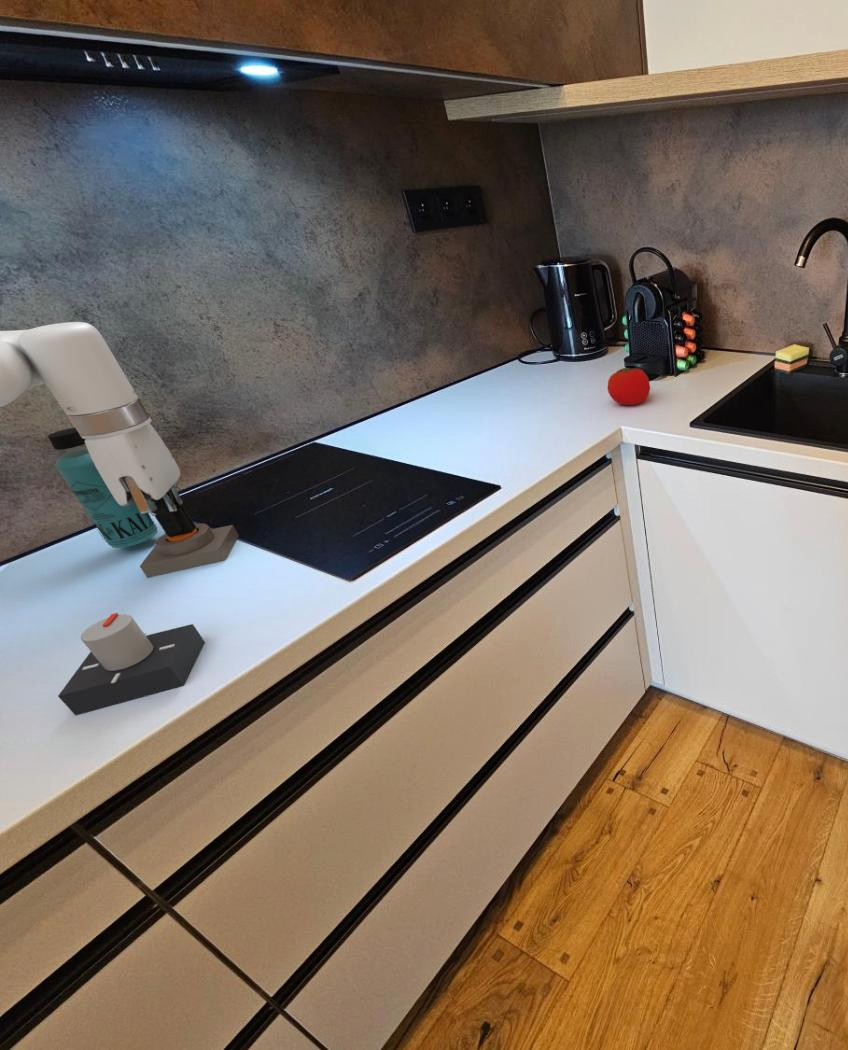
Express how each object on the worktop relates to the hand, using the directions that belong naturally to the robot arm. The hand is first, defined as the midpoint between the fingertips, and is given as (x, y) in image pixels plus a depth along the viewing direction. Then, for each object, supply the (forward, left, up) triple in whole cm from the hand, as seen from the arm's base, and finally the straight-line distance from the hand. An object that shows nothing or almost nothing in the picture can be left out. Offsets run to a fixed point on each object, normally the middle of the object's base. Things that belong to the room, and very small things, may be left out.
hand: (182, 532), depth 89 cm
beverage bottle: (-10, +8, -5) cm, 14 cm away
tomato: (+80, +31, -5) cm, 86 cm away
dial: (+3, -30, -1) cm, 30 cm away
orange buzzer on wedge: (0, 0, -4) cm, 4 cm away
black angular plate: (+3, -30, -4) cm, 30 cm away
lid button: (0, 0, -2) cm, 2 cm away
